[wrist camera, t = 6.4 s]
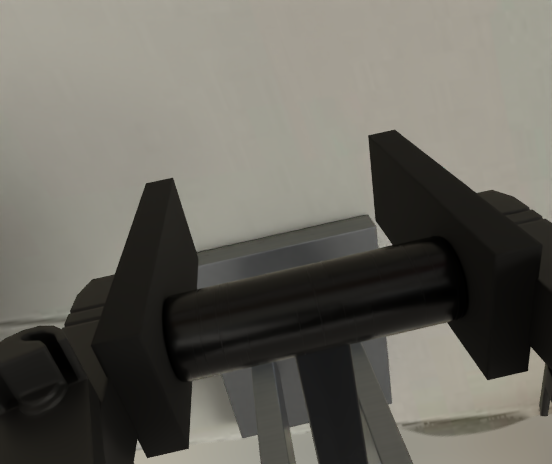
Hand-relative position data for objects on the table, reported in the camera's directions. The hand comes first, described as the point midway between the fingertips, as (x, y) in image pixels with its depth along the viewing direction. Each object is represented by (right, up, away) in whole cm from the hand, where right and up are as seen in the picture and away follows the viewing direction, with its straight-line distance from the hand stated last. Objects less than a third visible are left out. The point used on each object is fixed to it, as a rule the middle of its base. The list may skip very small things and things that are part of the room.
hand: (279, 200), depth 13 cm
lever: (+2, -7, -1) cm, 7 cm away
